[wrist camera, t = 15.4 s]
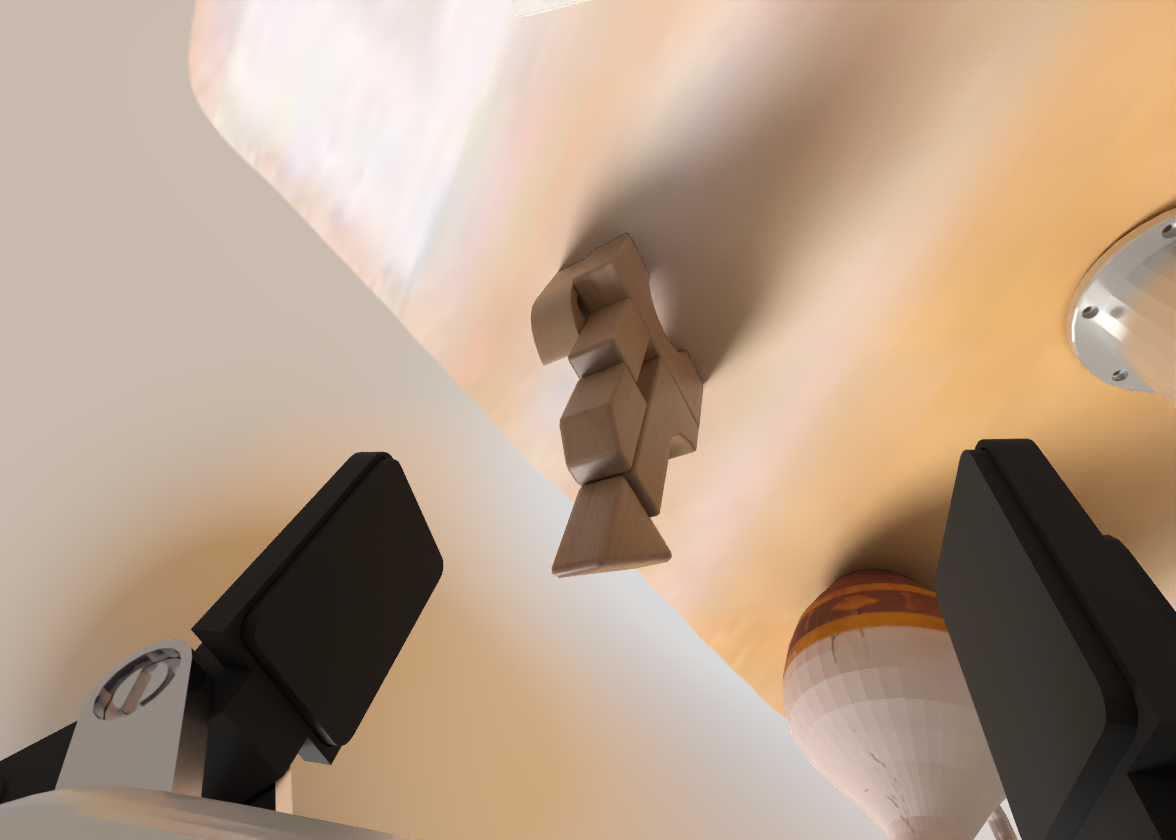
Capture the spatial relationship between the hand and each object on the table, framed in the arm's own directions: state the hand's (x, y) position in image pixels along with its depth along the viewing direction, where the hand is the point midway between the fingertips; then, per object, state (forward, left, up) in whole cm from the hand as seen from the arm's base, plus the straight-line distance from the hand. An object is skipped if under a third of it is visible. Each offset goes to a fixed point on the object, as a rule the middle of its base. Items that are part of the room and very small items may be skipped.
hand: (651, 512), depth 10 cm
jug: (-13, +42, -34) cm, 55 cm away
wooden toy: (+7, +12, -34) cm, 36 cm away
